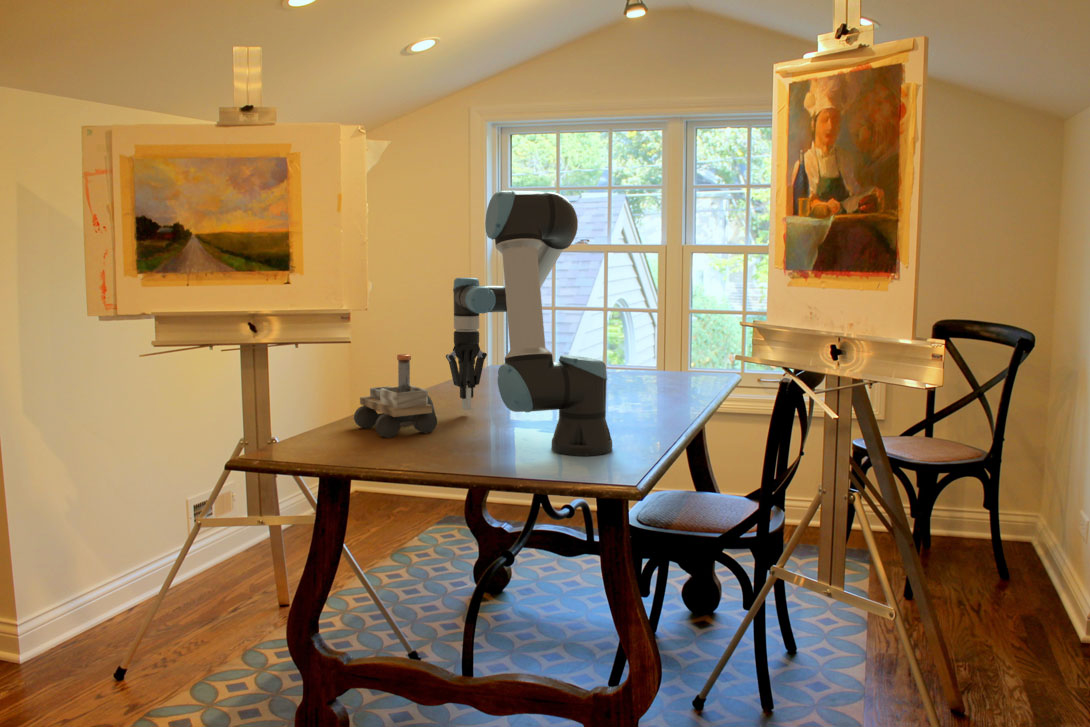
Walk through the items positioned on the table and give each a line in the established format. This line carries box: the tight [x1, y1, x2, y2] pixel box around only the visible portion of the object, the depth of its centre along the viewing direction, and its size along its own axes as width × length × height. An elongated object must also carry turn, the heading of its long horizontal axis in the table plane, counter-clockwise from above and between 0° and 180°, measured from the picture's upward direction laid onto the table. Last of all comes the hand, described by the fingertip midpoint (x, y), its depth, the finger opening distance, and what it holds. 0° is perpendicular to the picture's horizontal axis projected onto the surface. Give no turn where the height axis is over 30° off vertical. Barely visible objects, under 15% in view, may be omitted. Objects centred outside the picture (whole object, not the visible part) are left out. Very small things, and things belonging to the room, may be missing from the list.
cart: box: [353, 385, 438, 439], centre depth 239 cm, size 22×17×12 cm
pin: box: [396, 353, 412, 393], centre depth 233 cm, size 4×4×13 cm
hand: (466, 409), depth 261 cm, fingers closed
